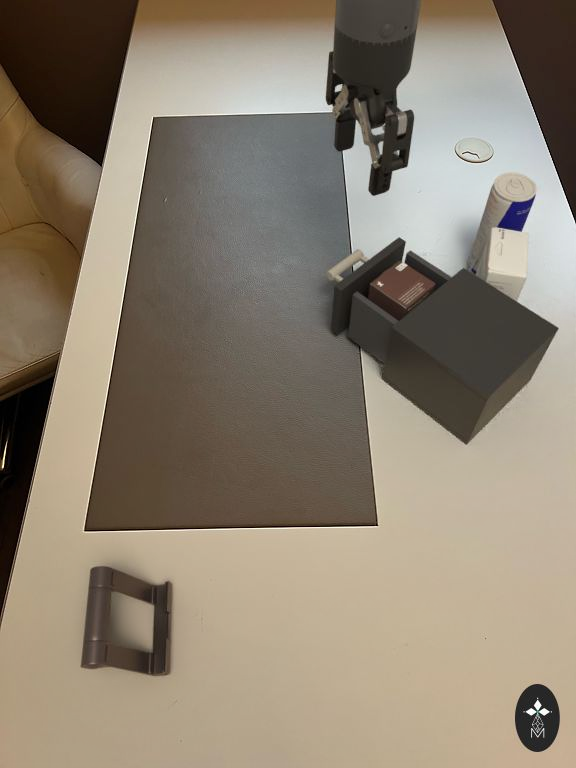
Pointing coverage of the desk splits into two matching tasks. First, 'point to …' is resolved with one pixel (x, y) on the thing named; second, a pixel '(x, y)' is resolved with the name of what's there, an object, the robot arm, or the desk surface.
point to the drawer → (352, 294)
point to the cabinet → (465, 353)
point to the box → (400, 290)
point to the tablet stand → (98, 616)
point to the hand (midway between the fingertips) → (360, 169)
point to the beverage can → (503, 211)
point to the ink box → (505, 261)
